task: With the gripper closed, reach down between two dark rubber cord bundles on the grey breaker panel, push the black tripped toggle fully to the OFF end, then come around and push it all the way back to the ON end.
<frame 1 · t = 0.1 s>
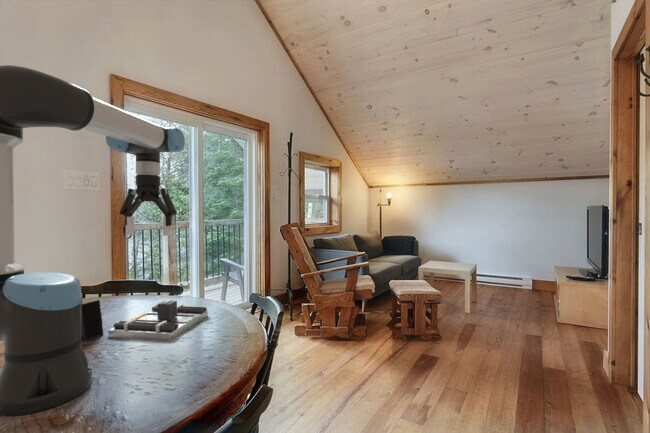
hand: (148, 235, 115), 28 cm above the table, fingers open, 13 cm apart
cords right: (178, 316, 113), resting on panel
speaker: (88, 336, 95), on the table
cords left: (145, 335, 96), resting on panel
toggle: (167, 309, 105), point 5 cm above the table, slide at 5.0 cm
panel: (162, 325, 104), on the table
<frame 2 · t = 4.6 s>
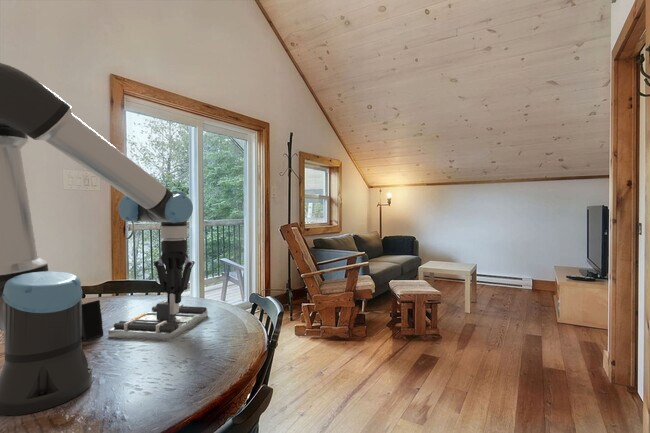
hand: (174, 313, 105), 4 cm above the table, fingers closed
toggle: (166, 309, 105), point 5 cm above the table, slide at 5.4 cm, touching gripper
everything else where it was.
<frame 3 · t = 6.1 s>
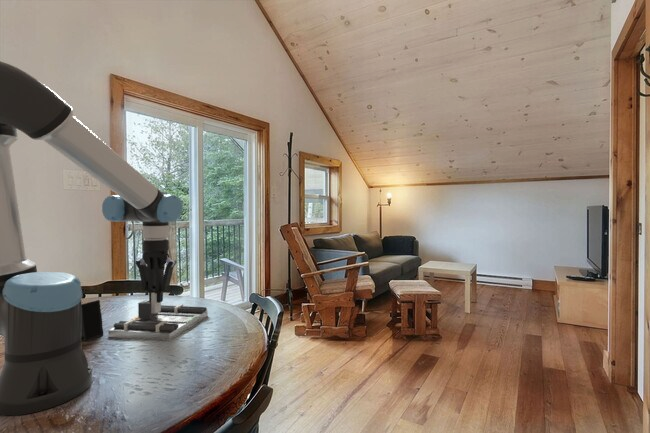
hand: (156, 312, 105), 4 cm above the table, fingers closed
toggle: (148, 308, 106), point 5 cm above the table, slide at 11.7 cm, touching gripper
everything else where it was.
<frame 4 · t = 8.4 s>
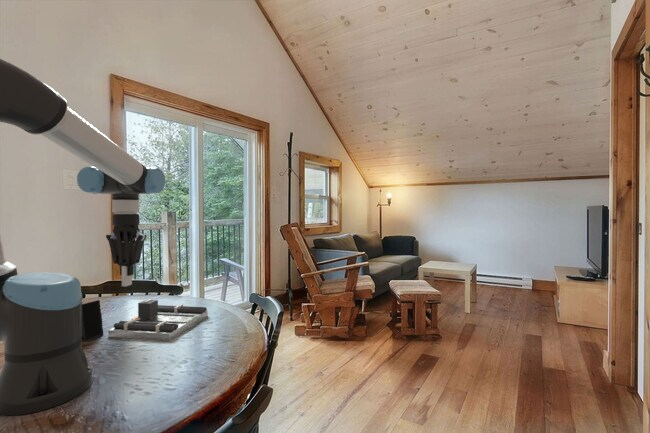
hand: (126, 285, 107), 12 cm above the table, fingers closed
toggle: (148, 308, 106), point 5 cm above the table, slide at 11.7 cm
everything else where it was.
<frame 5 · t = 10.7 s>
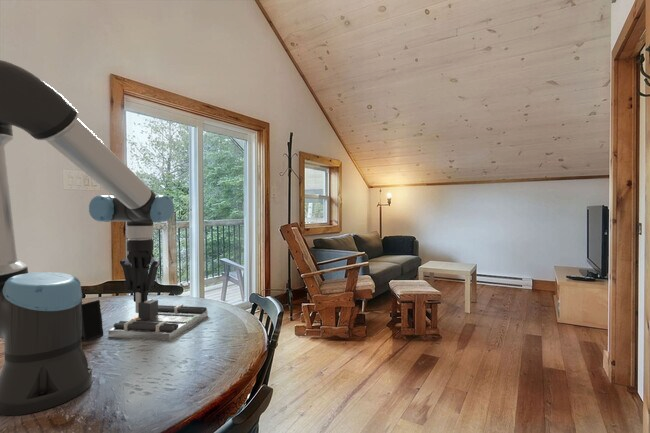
hand: (140, 311, 106), 4 cm above the table, fingers closed
toggle: (148, 308, 106), point 5 cm above the table, slide at 11.6 cm, touching gripper
everything else where it was.
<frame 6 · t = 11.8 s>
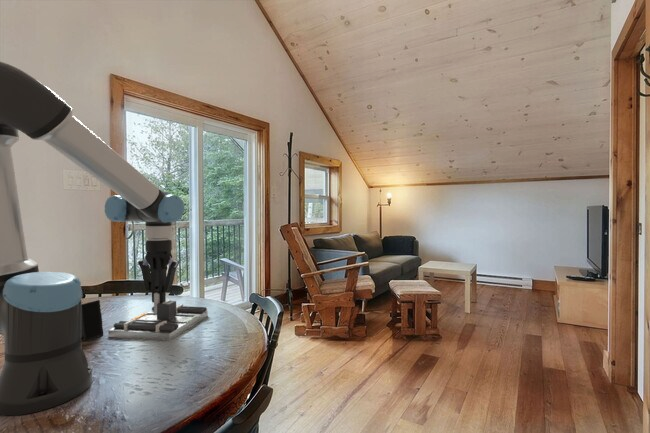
hand: (158, 312, 105), 4 cm above the table, fingers closed
toggle: (166, 309, 105), point 5 cm above the table, slide at 5.2 cm, touching gripper
everything else where it was.
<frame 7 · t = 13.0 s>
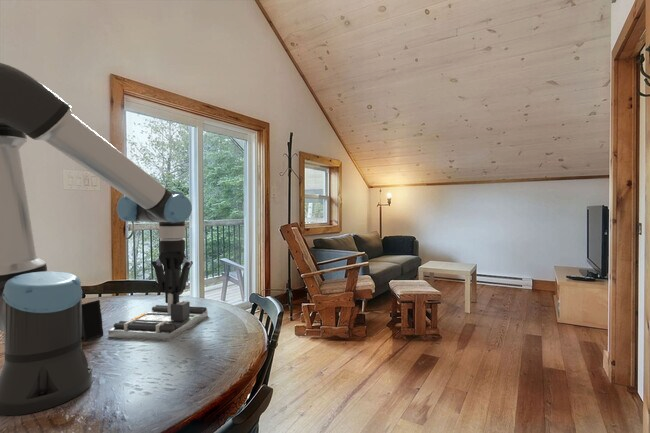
hand: (172, 313, 105), 4 cm above the table, fingers closed
toggle: (180, 310, 104), point 5 cm above the table, slide at 0.6 cm, touching gripper
everything else where it was.
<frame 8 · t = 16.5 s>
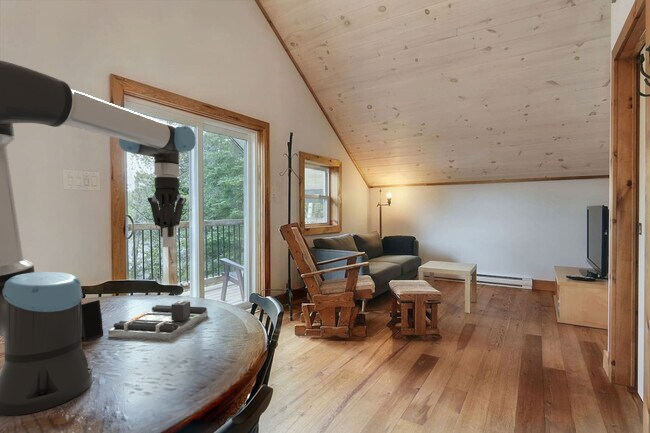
hand: (167, 246, 111), 24 cm above the table, fingers closed
toggle: (181, 310, 104), point 5 cm above the table, slide at 0.3 cm
everything else where it was.
at the end: toggle slide at 0.3 cm; toggle touching nothing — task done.
